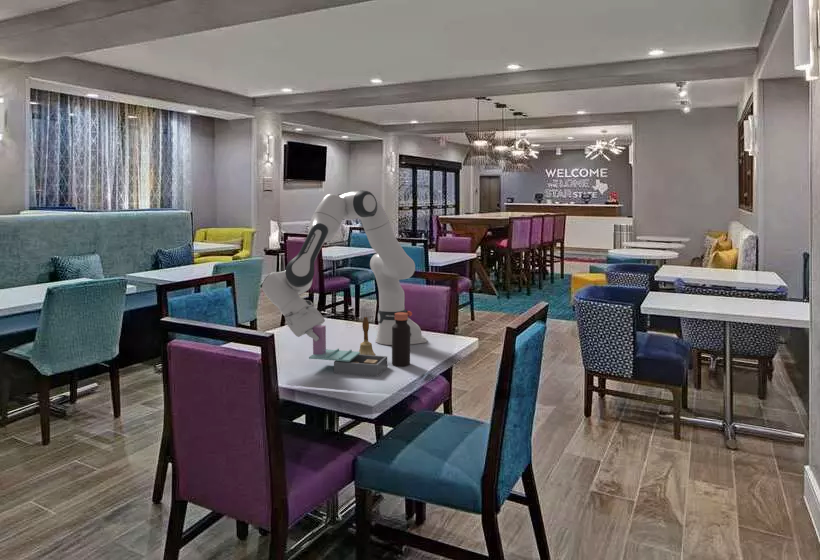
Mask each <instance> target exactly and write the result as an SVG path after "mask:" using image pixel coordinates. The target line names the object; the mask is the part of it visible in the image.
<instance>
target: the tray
mask: <svg viewBox="0 0 820 560" xmlns="http://www.w3.org/2000/svg"><path fill="white" fill-rule="evenodd" d="M367 359H371V360H378V363H377V364H364V361H366V360H367ZM351 362H359V363H351ZM387 368H388V356H384V355H375V356H374V355H361V354H359V355H358V356H356V357H355V358H354V359H352V360H351V361H350V362H346V361H333V374H340V375H341V374H342V375H352V376H353V375H354V376H365V377H375V378H376V377H377V378H378V377H379V376H380V375H381V374H382V373H383V372H385V370H386V369H387Z"/></svg>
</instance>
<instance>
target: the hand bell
mask: <svg viewBox="0 0 820 560" xmlns="http://www.w3.org/2000/svg"><path fill="white" fill-rule="evenodd" d="M361 324H362V331H363V341H362V342H360V344H359V345H360V346H359V350H358V352H360V354H361V355H374V356H377V355H376V353H375V352H374V350H373V344H372V342H370V341H369V330H370V322H369V319H368V317H367V316H364V317H363V320H362V323H361Z"/></svg>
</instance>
